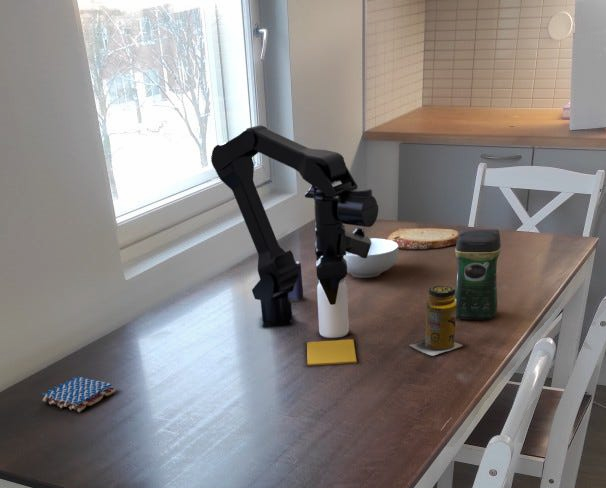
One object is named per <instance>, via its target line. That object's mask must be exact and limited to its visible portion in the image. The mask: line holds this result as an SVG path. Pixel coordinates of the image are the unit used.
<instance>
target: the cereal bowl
mask: <svg viewBox="0 0 606 488" xmlns="http://www.w3.org/2000/svg"><path fill="white" fill-rule="evenodd" d="M369 239H370V240H371V246H370V249H369V252H368V255H367V258H361V257H360V256H358V255H355V254H352V253H349V252H346V255H344V259H345V260H346V262H347V274H350V275H351V276H352V277H354V278H359V279H369V278H370V279H371V278H375V277H378V276H380V275H382V273H384V272H387V271H388V270H389V269H391V268H392V267H393V266H394V265H395V264H396V262H397V260H398V258H399V257H398V256H399V247H398V244H397V243H396V242H394V241H391V240H386V239H387V238H386V239H385V238H373V237H372V238H369Z"/></svg>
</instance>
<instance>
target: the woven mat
mask: <svg viewBox="0 0 606 488" xmlns="http://www.w3.org/2000/svg"><path fill="white" fill-rule="evenodd" d="M59 385H60V386H53V388H54V389H48V390H47V391H48V392H42V393H41V396H43V397H42V402H44V403H48V404H49V405H50V406H51V405H56V406H57V407H59V408H60V409H63V408H69V410H70V411H72V410H75V411H77V412H78V413H81V412H82V411H83V410H84V409H85V408H87V407H88V406H93V405H95V404H96V403H99V402H100V401H101V400H102V399H103V398H104V397H108V396H111V395H113V394H115V392H116V389H115V388H114V387H113V384H112V383H108V382H105V381H104V382H103V381H102V380H96V379H91V378H86V377H83V376H82V377H81V376H77V377H71V380H70V379H69V380H66V381H65V383H59Z"/></svg>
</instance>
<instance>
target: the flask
mask: <svg viewBox="0 0 606 488" xmlns="http://www.w3.org/2000/svg"><path fill="white" fill-rule="evenodd" d="M295 262H296V264H297V265H298V267H299V268H297V270H298V278H297V282H296V283H295V286H294V290H293V291H292V292H289V293H288V299H291V301H295V302H296V301H297V302H298V301H303V300H304V286H303V276H302V275H303V274H302V263H301V262H300V261H298V260H297V261H296V260H295Z"/></svg>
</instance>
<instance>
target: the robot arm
mask: <svg viewBox="0 0 606 488" xmlns="http://www.w3.org/2000/svg"><path fill="white" fill-rule="evenodd" d="M258 154H261V155H264V156H266V157H268V158H270V159H272V160H274V161H276V162H279V163H281V164H282V165H285V166H287V167H289V168H291V169H293V170H295V171H296V172H298V173H299V174H300V176H301V178H302V180H304V181H305V182H306V183H307V184H309V185H310V188H309V189H308V190H307V191H306V192H305V194H304V197H305V198H306V199H313V207H314V208H313V209H314V210H313V211H314V229H315V243H314V250H315V251H314V252H315V259H316V261H315V267H316V270H315V271H316V278H317V280H318V282H319V281H320V284H321V286H322V288H323V290H324V292H325V294H326V296H327V298H328V301H329V303H330V304H331V305H334V304H336V298H337V292H338V287H339V282H340V281H341V280H342V279H343V278H345V279H346V278H347V275H348V273H347V262H346V260H345V259H344V255H346V252H349V253H352V254H355V255H358V256H360V257H361V258H367V255H368V252H369V249H370V246H371V240H370V239H371V238H370V237H369V236H366V235H365V230H364V228H371V227H373V226H374V225H375V223H376V221H377V219H378V215H379V205H378V201H377V199H376V198H375V196H373V190H372V189H371V188H362V189H361V188H358V187H359V186H358V184H357V182H356V181H355V179H354V177H353V176H352V174H351V172H350V170H349V169H348V167H347V165H346V162H345V158H344V156H343V155H342V154H341V153H339V152H336V151H333V150H328V149H318V148H317V149H316V148H311V147H307V146H305V145H302V144H300V143H298V142H296V141H294V140H291V139H290V138H288V137H285V136H283V135H280V134H278V133H276V132H274V131H272V130H270V129H268V128H267V127H266V126H265V125H262V124H259V125H254V126H252V127H248V128H247V127H246V128H245V129H244V131H242V132H241V133H240V134H238V135H237V136H235V137H233V138H231V139H230V140H228V141H227V142H224V143H220V144H217V145H215V146H214V147H213V148H212V151H211V156H210V161H211V162H210V163H211V165H212V167H213V169H214V170H215V172H216V174H217V176H218V178H219V180H220V181H221V182H223V184H224V185H226V186H227V187H228V188H229V189H230V190H231V191H232V193H233V196H234V198H235V201H236V203H237V206H238V208H239V210H240V213H241V215H242V219H243V220H244V223H245V226H246V228H247V230H248V232H249V235H250V238H251V240H252V242H253V245H254V248H255V250H256V253H257V255H258V256H257V257H258V258H257V273H258V277H259V280H258V282H257V283H256V284H255V285H254V287H253V288H252V289H251V292H252V294H253V297H254V300H258V301H260V307H261V308H260V309H261V319H262V320H261V326H262V327H279V326H290V325H291V321H292V320H293V307H292V305H293V304H292V300H291V299H288V293H289V292H292V291H293V290H294V286H295V283H296V282H297V278H298V270H297V268H299V267H298V265H297V264H296V262H295V261H296V260H295V257H294V253H293V251H292V250H290V249H289V250H287V251H285V250H284V249H283V248H282V247H281V246H280V245H279V242H278V240H277V237H276V235H275V232H274V230H273V227H272V224H271V222H270V220H269V217H268V214H267V212H266V210H265V207H264V205H263V202H262V200H261V197H260V194H259V193H258V190H257V187H256V184H255V181H254V175H255V173H254V171H255V164H254V160H253V158H254V157H255V156H256V155H258ZM345 225H349V226H356V228H354V230H353V231H348V230H346V229H345ZM362 227H364V228H362Z"/></svg>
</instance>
